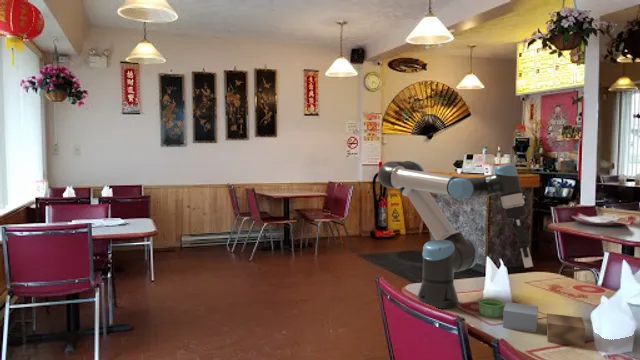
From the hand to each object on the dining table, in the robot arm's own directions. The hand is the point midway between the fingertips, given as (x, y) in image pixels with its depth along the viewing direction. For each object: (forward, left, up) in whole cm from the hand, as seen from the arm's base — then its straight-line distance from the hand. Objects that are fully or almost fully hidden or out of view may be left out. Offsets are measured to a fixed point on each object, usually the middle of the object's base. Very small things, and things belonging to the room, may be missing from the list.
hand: (528, 265), depth 172 cm
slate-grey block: (-2, -13, -18) cm, 22 cm away
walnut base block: (+11, -20, -18) cm, 29 cm away
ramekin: (-12, -5, -18) cm, 22 cm away
